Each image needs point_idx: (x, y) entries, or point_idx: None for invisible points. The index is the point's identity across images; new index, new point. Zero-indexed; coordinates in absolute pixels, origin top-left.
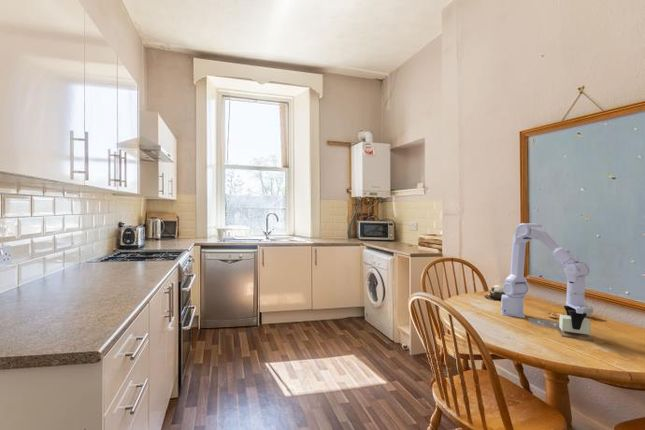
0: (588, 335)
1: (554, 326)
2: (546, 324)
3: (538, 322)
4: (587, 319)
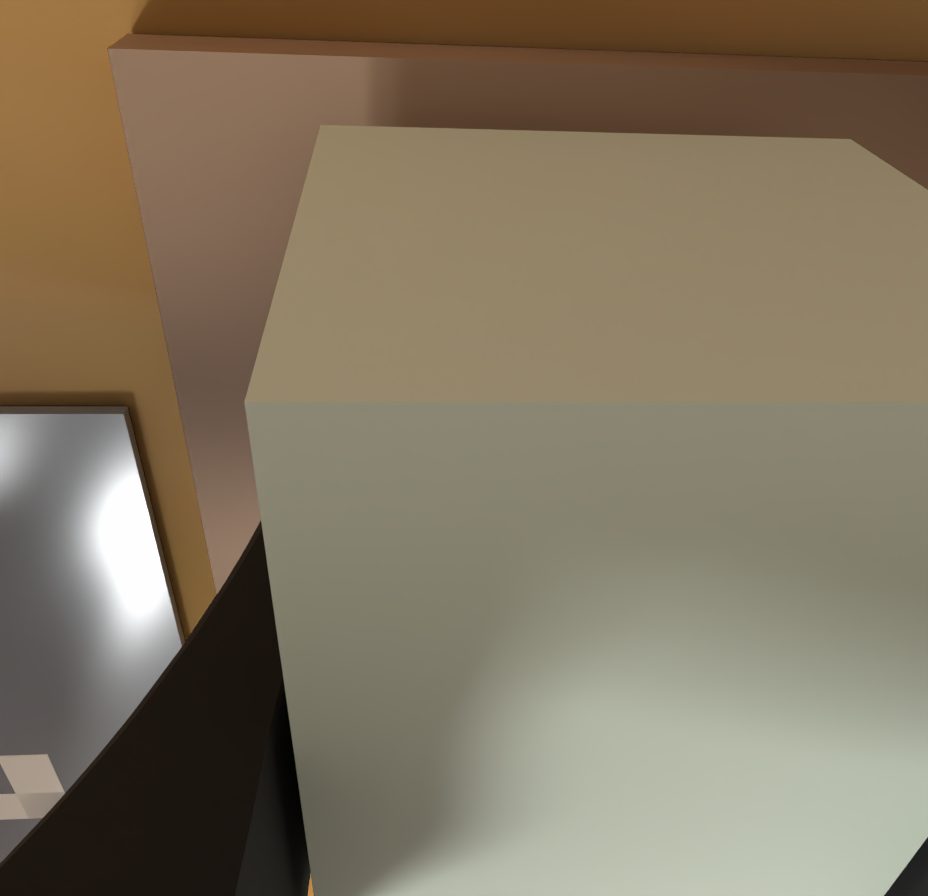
0: (625, 108)
1: (87, 648)
2: (44, 735)
3: (11, 812)
4: (708, 450)
